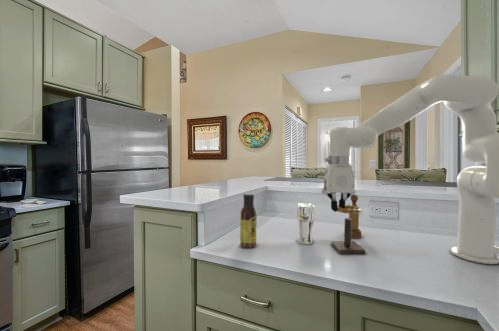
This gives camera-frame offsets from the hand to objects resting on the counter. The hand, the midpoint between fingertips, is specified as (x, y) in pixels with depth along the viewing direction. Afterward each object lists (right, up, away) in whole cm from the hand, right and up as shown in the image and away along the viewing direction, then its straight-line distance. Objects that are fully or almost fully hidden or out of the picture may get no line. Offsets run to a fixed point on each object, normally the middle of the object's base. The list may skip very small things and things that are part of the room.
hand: (337, 210), depth 91 cm
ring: (+4, +1, 0) cm, 4 cm away
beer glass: (-10, -14, +8) cm, 20 cm away
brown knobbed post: (+12, -14, +16) cm, 25 cm away
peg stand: (+4, -15, +1) cm, 15 cm away
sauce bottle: (-33, -14, +4) cm, 36 cm away
